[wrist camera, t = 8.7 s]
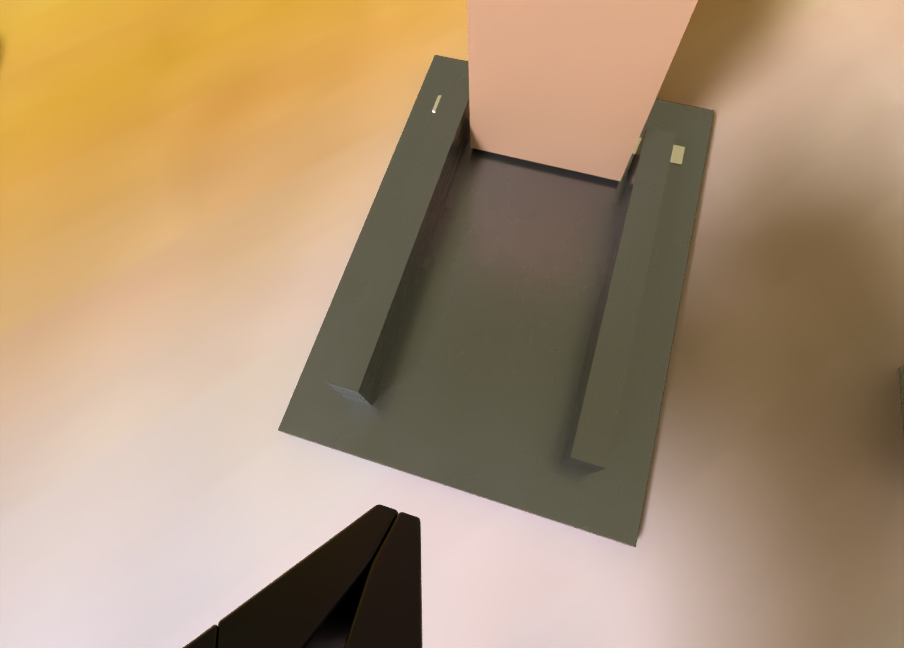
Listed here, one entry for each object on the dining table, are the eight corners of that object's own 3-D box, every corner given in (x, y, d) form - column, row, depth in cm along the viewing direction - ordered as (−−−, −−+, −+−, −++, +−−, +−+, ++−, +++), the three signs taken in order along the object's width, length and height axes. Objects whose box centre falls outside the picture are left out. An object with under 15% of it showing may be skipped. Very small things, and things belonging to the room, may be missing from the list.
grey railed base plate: (630, 545, 19) (658, 551, 16) (283, 432, 21) (252, 420, 18) (709, 119, 25) (738, 70, 22) (436, 64, 27) (430, 12, 24)
